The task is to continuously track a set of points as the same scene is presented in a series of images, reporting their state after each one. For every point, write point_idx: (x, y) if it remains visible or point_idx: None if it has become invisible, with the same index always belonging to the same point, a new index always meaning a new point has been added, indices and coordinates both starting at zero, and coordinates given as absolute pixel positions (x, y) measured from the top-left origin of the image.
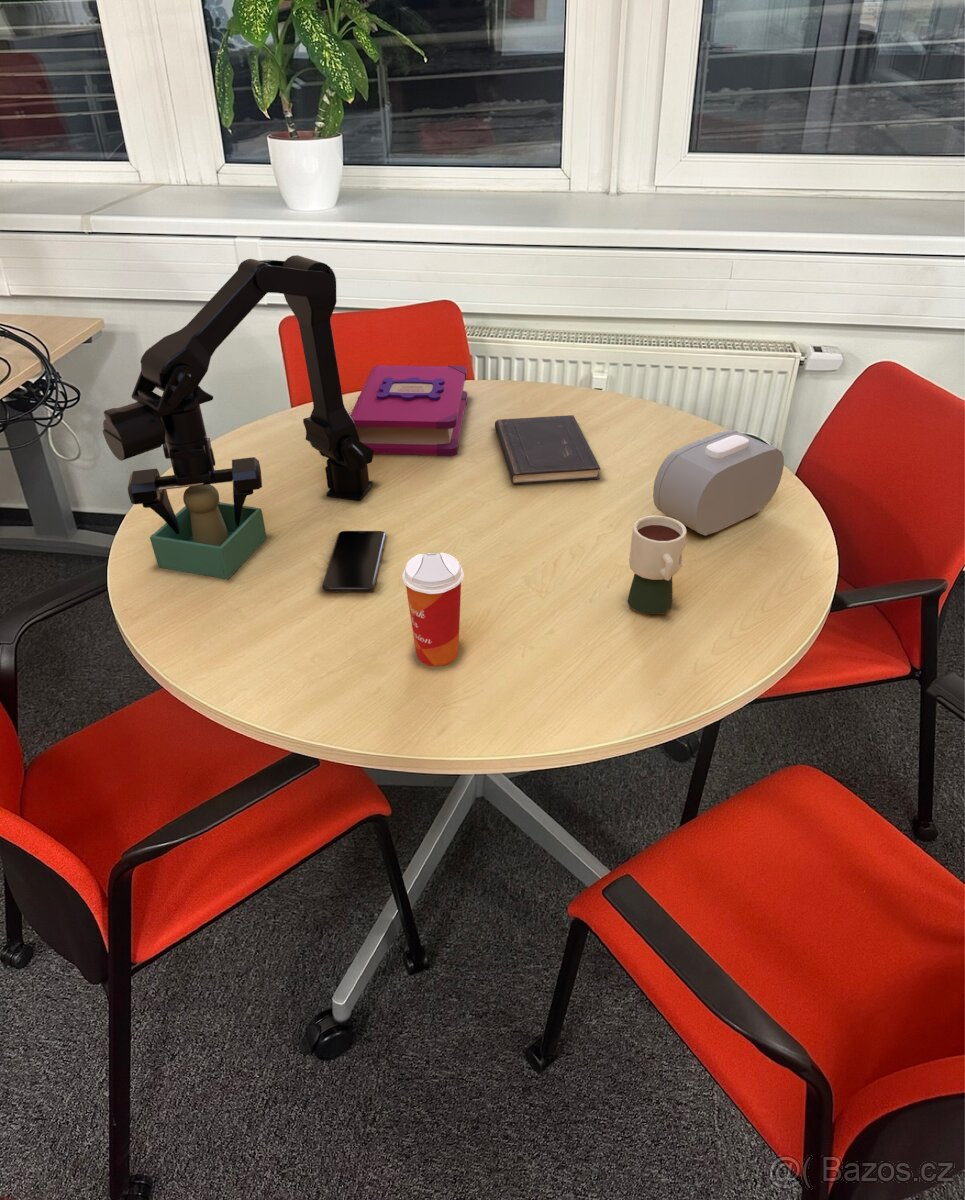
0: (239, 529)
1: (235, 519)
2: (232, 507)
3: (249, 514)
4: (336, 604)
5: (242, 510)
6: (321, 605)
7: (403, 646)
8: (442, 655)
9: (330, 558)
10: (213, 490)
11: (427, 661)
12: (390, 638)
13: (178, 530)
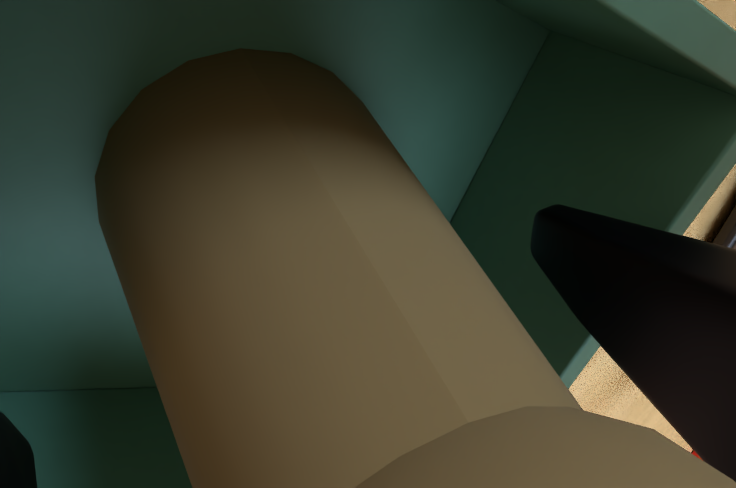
0: (571, 379)
1: (590, 328)
2: (589, 4)
3: (656, 57)
4: (640, 390)
5: (646, 44)
6: (610, 402)
7: (683, 447)
8: None
9: (730, 238)
10: None
11: None
12: (677, 439)
13: (31, 485)
